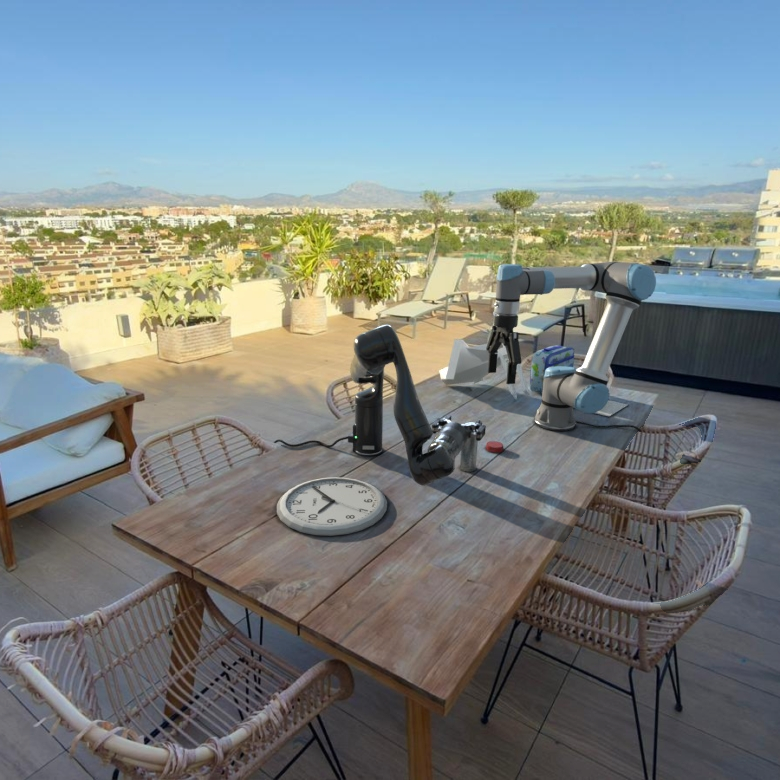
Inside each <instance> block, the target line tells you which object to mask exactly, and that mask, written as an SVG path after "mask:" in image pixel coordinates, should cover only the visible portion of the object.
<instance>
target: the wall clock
mask: <svg viewBox="0 0 780 780" xmlns="http://www.w3.org/2000/svg"><path fill="white" fill-rule="evenodd" d="M387 509H388V500H387V498H386V496H385V494H384V493H383V492H382V491H381V490H380V489H379V488H377V487H376V486H374V485H372V484H371V483H369V482H365V481H362V480H359V479H355V478H349V477H338V476H337V477H335V476H333V477H332V476H331V477H322V478H317V479H312V480H307V481H305V482H302V483H299V484H297V485H295V486H293V487H292V488H290V489H288V490H287V491H286V492H285V493H284V494H283V495H281V496H280V498H279V499H278V502H277V503H276V515H277V517H278V518H279V520H280V521H281V522H282V523H283V524H285V525H286V526H287V527H288V528H290V529H293V530H295V531H297V532H299V533H303V534H308V535H312V536H327V537H328V536H329V537H331V536H332V537H333V536H342V535H350V534H352V533H356V532H361V531H363V530H366V529H368V528H369V527H372V526H373V525H375V524H376V523H378V522H379V521H380V520H381V519H382V518H383V517H384V516H385V514H386V512H387Z"/></svg>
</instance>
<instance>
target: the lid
mask: <svg viewBox="0 0 780 780" xmlns="http://www.w3.org/2000/svg"><path fill="white" fill-rule="evenodd" d="M485 450H486V451H488V453H489V452H490V453H493V454H495V453H496V454H497V453H498V454H499V453H502V452H503V451H504V444H503V443H502V442H500V441H497V440H490V441H487V442H486V445H485Z"/></svg>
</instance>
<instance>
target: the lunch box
mask: <svg viewBox="0 0 780 780" xmlns="http://www.w3.org/2000/svg"><path fill="white" fill-rule="evenodd" d="M574 363H575V348H573V347H571V346H570V347H568V346H563V345H551V346H548V347H544V348H543V349H539V350H536V351H535V352H534V354H533V356H532V358H531V363H530V374H529V391H532V392H536V393H540V394H542V391H543V380H544V374H545V370H546V369H547V368H549V367H556V366H565V367H574Z"/></svg>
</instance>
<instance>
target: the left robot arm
mask: <svg viewBox="0 0 780 780" xmlns="http://www.w3.org/2000/svg"><path fill="white" fill-rule="evenodd" d="M352 348H353V353H354V354H353V357H352V359H351V361H350V368H349V371H350V377H351V379H352V381H353V382H354V383H355V384H358V385H371V386H369V387H368V388H366V389H364V390H362V391H359V392H357V393H356V394H355V396H354V423H353V425H352V431H351V433H350V434H348V435H347V436H344V437H340V438H337V439H336V440H335V441H333V443H331V444H325V443H324V442H322V441H321V440H315V439H313V440H306V441H304V442H303V441H302V442H300V443H295V444H293V443H292V444H291V443H288V442H286V441H284V440H282V439H276V440H275V441H273V443H274V444H277V443H281V444H283V445H285V446H287V447H290V448H294V447H295V448H297V447H302V446H304V445H307V444H313V443H316V444H319V445H321V446H323V447H326V448H333V447H334V446H335V445H337V443H339V442H341V441H344V440H347V443H349V444H350V443H351V444H352V452H353V453H356V454H357V455H360V456H363V457H374V456H378V455H380V454H381V453H382V452H383V429H384V428H383V425H384V424H383V423H384V421H383V420H384V419H383V417H384V380H385V379H384V377H385V367H386V365H389V364H391V363H393V366H394V368H395V373H396V387H395V393H394V399H393V416H394V420H395V423H396V425H397V427H398V429H399V432H400V434H401V436H402V439H403V441H404V446H405V451H406V457H407V464H408V465H407V466H408V470H409V473H410V476H411V479H412V480H413V481H414V482H415V483H416V484H417V485H419V486H423V487H425V486H428V485H431V484H434V483H436V482H437V481H440V480H443V479H445V478H447V477H449V476H450V475H452V473H454V472H455V468H456V458H457V456H458V455H459V454H461V450H462V449H463V447H464V445H465V443H466V442H467V440H468V438H471V437H476V440H477V441H478V442H480V441H481V440H482V439H483V438H484V436H485V435H486V429H487V428H486V427H487V426H486V425H484V424H483V421H481V419H480V418H479V419H477V420H476V421H475V422H474V423H475V424H471V423H469V424H465V423H459V422H457V421H452V414H449V415H447V416H445V417H444V418H442V419H441V418H440V417H436V418H435V419H434V421H433V422H432V424H431V425H430V422H429V420H428V418H427V415H426V414H425V411H424V408H423V406H422V404H421V402H420V398H419V396H418V393H417V390H416V387H415V383H414V380H413V376H412V373H411V370H410V367H409V364H408V361H407V358H406V355H405V351H404V350H403V346H402V343H401V341H400V339H399V336H398V334H397V332H396V330H395V329H394V327H393V326H391V325H390V324H383V325H380V326H377V327H375V328H373V329H369V330H367V331H364V332H363V333H360V334H358V335H357V336H356V337H355V338H354V340H353V346H352ZM468 427H469V428H468ZM474 427H475V430H474ZM433 435H435V436H434V438H433V440H432V441H431V442H430V444H429V445H428V448H427V451H426V452H423V447H424V445H425V443H427V442H428V441H429V440H431V438H432V437H433Z"/></svg>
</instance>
